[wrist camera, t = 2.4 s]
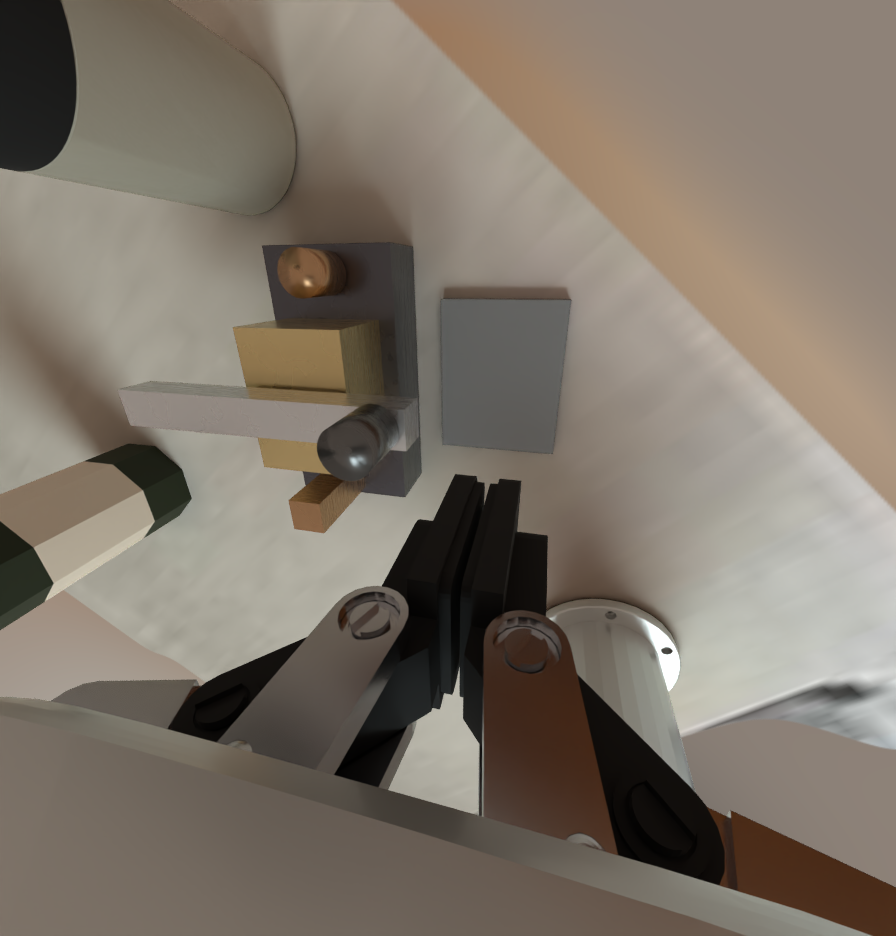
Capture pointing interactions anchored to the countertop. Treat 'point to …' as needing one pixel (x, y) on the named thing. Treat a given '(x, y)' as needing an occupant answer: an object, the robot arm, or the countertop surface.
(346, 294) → the dark slate base plate
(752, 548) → the countertop surface
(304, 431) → the bar
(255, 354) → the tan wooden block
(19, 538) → the wine bottle
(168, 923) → the robot arm
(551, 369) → the rubber mat
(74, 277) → the countertop surface
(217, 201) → the travel mug
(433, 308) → the countertop surface
